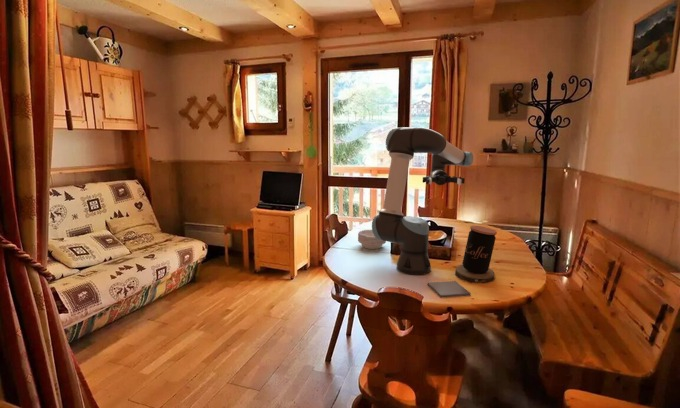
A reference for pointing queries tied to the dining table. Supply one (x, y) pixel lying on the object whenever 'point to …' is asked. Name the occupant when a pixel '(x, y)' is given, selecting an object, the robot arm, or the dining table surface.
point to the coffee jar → (479, 249)
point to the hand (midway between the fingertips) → (445, 182)
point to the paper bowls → (369, 240)
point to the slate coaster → (448, 289)
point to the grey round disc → (474, 275)
